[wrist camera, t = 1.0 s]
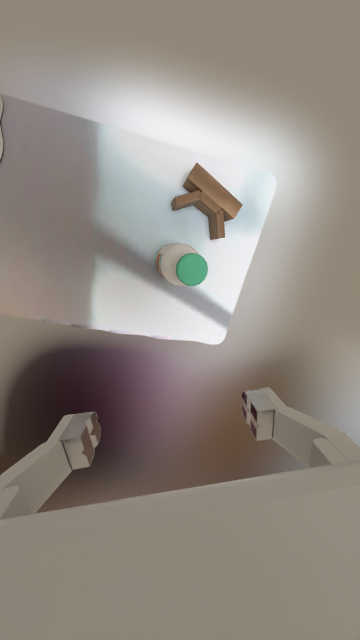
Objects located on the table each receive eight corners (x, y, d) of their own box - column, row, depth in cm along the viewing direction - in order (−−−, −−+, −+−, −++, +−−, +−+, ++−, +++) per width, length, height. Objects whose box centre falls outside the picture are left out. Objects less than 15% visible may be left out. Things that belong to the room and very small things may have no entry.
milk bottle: (160, 239, 42) (175, 232, 24) (191, 250, 44) (226, 251, 26) (152, 272, 44) (159, 289, 26) (182, 281, 46) (208, 302, 28)
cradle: (213, 242, 44) (222, 241, 40) (168, 207, 40) (172, 202, 35) (233, 210, 43) (244, 206, 38) (188, 171, 38) (194, 160, 34)
